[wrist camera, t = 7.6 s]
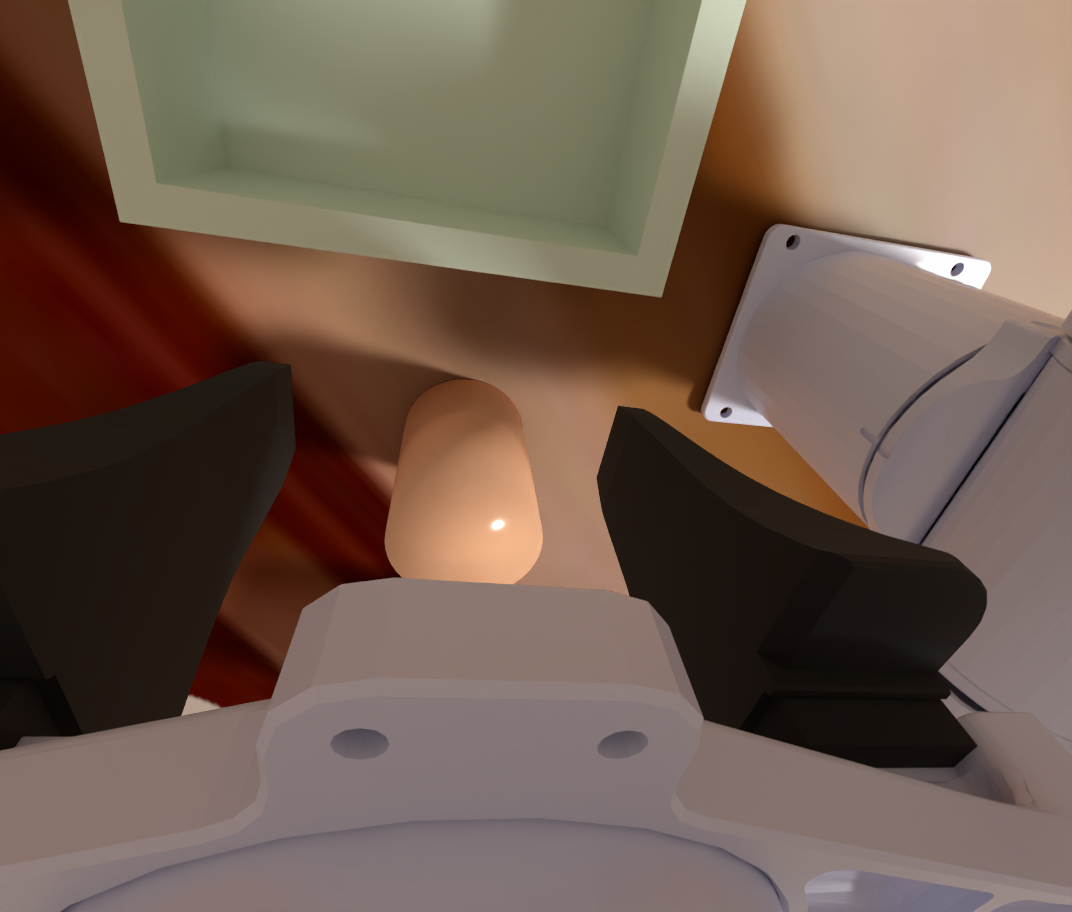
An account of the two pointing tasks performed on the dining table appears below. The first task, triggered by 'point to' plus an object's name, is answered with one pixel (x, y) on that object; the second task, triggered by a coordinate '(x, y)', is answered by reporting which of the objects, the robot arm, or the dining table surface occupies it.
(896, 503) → the robot arm
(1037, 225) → the dining table surface
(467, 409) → the terracotta capsule
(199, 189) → the tote
